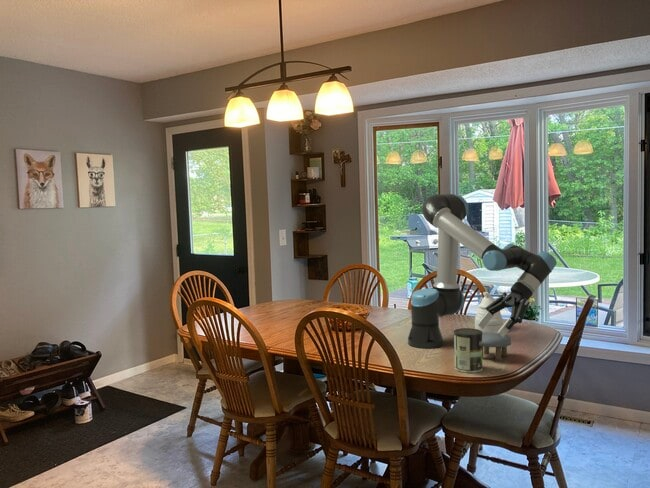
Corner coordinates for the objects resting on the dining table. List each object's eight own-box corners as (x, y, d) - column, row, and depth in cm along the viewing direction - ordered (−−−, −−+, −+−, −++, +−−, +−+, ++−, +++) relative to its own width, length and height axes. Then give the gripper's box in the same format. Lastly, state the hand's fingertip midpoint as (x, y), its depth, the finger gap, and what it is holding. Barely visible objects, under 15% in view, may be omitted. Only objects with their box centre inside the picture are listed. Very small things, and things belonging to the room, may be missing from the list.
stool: (468, 359, 207) (468, 339, 207) (481, 350, 219) (481, 331, 218) (504, 364, 199) (504, 343, 198) (515, 355, 210) (515, 335, 210)
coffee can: (481, 364, 200) (481, 328, 199) (483, 373, 190) (483, 335, 189) (453, 363, 202) (453, 327, 201) (454, 372, 192) (454, 334, 191)
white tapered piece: (491, 334, 244) (491, 295, 243) (469, 329, 254) (468, 292, 253) (508, 329, 251) (508, 291, 250) (486, 324, 262) (485, 288, 260)
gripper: (553, 299, 187) (516, 345, 185) (511, 288, 212) (478, 329, 209) (540, 285, 186) (502, 332, 183) (499, 276, 210) (466, 317, 207)
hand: (489, 330), depth 196 cm, fingers open, 13 cm apart
